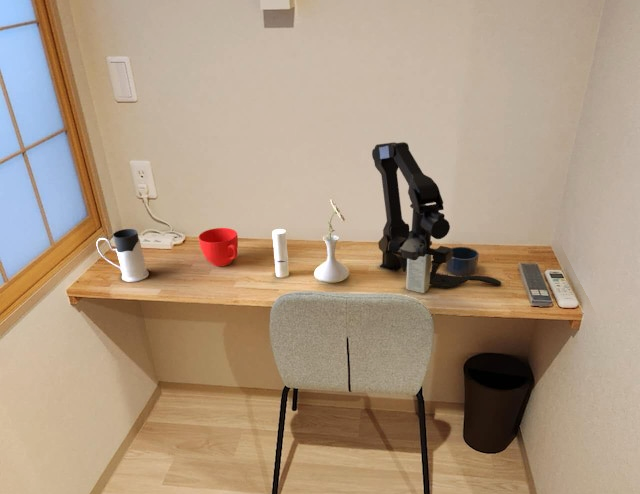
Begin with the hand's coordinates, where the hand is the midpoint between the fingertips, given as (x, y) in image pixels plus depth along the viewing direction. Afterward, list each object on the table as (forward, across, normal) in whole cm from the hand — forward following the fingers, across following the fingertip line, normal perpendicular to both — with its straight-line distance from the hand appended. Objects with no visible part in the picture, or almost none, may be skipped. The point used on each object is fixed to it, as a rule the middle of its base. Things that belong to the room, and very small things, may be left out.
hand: (417, 275), depth 167 cm
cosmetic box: (+5, 0, 0) cm, 5 cm away
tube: (+5, -42, -14) cm, 44 cm away
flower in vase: (+5, -27, -7) cm, 28 cm away
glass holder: (+5, -86, -42) cm, 96 cm away
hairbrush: (+5, +10, +10) cm, 15 cm away
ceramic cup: (+5, -64, -18) cm, 67 cm away
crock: (+4, +6, +20) cm, 21 cm away
